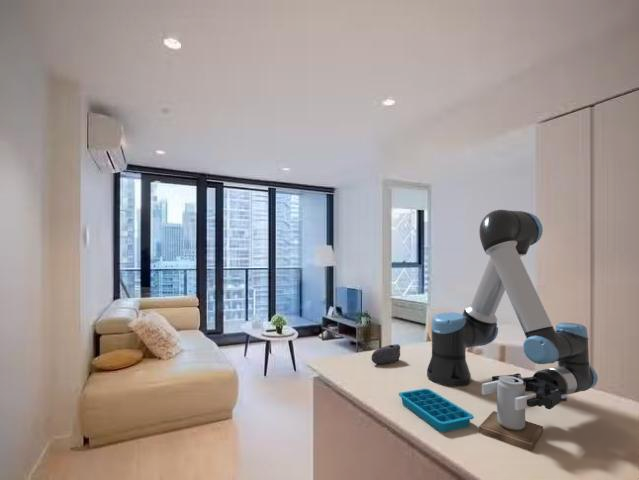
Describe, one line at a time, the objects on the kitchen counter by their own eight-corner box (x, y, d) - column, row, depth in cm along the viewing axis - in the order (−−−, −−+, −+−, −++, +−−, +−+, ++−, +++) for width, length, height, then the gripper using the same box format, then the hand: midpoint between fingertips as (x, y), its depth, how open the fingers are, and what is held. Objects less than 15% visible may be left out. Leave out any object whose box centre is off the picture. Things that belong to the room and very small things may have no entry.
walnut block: (479, 432, 89) (479, 425, 89) (493, 416, 97) (493, 410, 97) (532, 451, 80) (532, 444, 80) (543, 432, 89) (543, 425, 89)
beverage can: (529, 433, 85) (529, 385, 85) (501, 430, 86) (501, 383, 86) (519, 420, 91) (519, 375, 91) (493, 417, 93) (494, 373, 93)
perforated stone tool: (375, 367, 137) (375, 350, 137) (367, 363, 142) (367, 346, 142) (404, 362, 144) (404, 345, 144) (396, 358, 148) (396, 342, 148)
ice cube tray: (427, 397, 110) (427, 388, 110) (476, 428, 91) (476, 416, 91) (396, 402, 106) (396, 393, 106) (441, 436, 87) (441, 424, 87)
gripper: (597, 412, 87) (541, 432, 77) (517, 382, 106) (464, 394, 97) (597, 383, 87) (541, 398, 77) (517, 358, 106) (464, 368, 97)
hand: (498, 396), depth 87 cm, fingers open, 9 cm apart
